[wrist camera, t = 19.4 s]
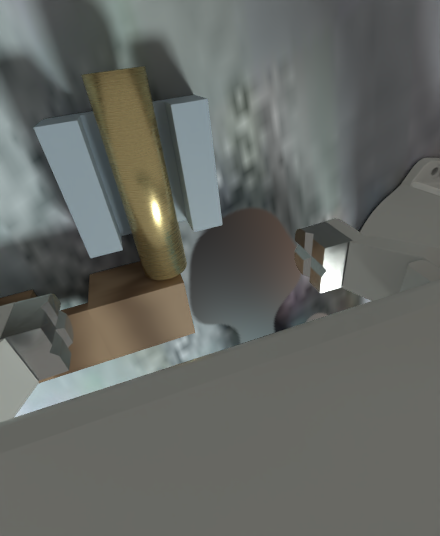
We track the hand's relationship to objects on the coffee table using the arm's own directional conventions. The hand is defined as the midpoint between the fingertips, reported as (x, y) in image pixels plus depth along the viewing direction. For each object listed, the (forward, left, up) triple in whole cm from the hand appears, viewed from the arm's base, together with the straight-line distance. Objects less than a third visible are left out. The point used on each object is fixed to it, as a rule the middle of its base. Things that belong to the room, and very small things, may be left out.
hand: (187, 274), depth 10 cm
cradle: (0, +1, -16) cm, 16 cm away
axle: (0, +1, -15) cm, 15 cm away
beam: (+9, +12, -16) cm, 22 cm away
